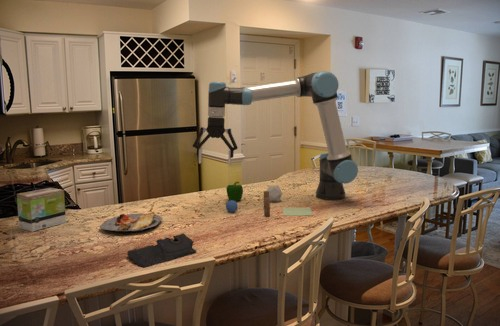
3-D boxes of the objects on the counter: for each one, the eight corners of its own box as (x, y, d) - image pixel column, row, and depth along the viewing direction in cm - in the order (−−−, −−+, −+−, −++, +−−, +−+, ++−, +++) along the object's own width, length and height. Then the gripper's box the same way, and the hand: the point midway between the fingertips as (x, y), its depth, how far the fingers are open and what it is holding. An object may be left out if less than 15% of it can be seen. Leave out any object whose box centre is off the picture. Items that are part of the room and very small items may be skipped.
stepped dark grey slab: (122, 256, 136) (121, 243, 135) (179, 241, 149) (178, 229, 149) (141, 271, 124) (140, 256, 123) (202, 253, 138) (201, 240, 137)
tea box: (32, 232, 160) (29, 196, 158) (19, 228, 165) (15, 193, 163) (67, 222, 173) (64, 189, 170) (53, 219, 178) (50, 186, 176)
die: (277, 205, 198) (286, 188, 200) (262, 196, 199) (271, 179, 201) (275, 206, 206) (285, 190, 208) (261, 198, 207) (270, 182, 209)
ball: (238, 210, 187) (237, 198, 187) (237, 213, 182) (237, 202, 181) (226, 210, 188) (226, 199, 187) (225, 213, 182) (225, 202, 181)
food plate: (115, 217, 180) (115, 210, 179) (167, 217, 179) (167, 209, 178) (92, 236, 155) (91, 227, 155) (152, 236, 154) (151, 227, 154)
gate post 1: (269, 207, 192) (269, 191, 191) (269, 208, 189) (269, 192, 188) (263, 207, 192) (263, 191, 191) (263, 208, 189) (263, 192, 188)
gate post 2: (269, 215, 180) (269, 197, 178) (270, 216, 177) (269, 198, 176) (264, 215, 180) (263, 197, 178) (264, 216, 177) (264, 199, 176)
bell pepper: (223, 201, 204) (222, 182, 202) (231, 198, 211) (231, 179, 210) (237, 203, 200) (237, 183, 198) (245, 199, 207) (245, 180, 206)
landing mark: (309, 207, 190) (309, 207, 190) (313, 215, 178) (313, 215, 178) (282, 207, 191) (282, 207, 191) (284, 215, 178) (284, 215, 178)
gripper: (186, 115, 178) (185, 163, 181) (242, 118, 175) (240, 166, 178) (191, 115, 185) (189, 161, 188) (244, 118, 183) (242, 164, 186)
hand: (214, 164), depth 183 cm, fingers open, 13 cm apart
